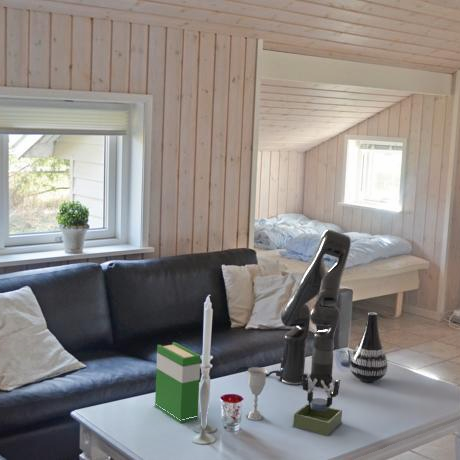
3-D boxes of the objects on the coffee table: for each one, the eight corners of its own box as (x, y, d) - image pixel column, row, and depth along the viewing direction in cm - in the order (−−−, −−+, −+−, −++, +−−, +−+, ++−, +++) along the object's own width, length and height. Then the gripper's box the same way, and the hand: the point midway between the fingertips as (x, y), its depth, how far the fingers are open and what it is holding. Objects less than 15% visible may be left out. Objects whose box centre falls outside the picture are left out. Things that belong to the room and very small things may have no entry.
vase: (389, 388, 325) (395, 319, 320) (350, 385, 325) (356, 317, 321) (383, 375, 341) (388, 309, 336) (346, 372, 341) (351, 307, 336)
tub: (293, 426, 281) (293, 414, 280) (307, 414, 293) (308, 402, 292) (327, 435, 275) (328, 422, 274) (341, 422, 287) (342, 410, 286)
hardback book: (155, 406, 293) (157, 344, 289) (171, 402, 297) (174, 342, 293) (180, 423, 279) (183, 358, 275) (197, 419, 283) (200, 355, 279)
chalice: (267, 415, 290) (269, 369, 287) (261, 422, 283) (264, 375, 280) (248, 412, 292) (251, 366, 289) (242, 418, 286) (244, 371, 283)
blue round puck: (307, 408, 281) (307, 402, 281) (314, 402, 287) (314, 396, 287) (324, 412, 279) (324, 406, 278) (330, 406, 284) (331, 400, 284)
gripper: (345, 361, 280) (341, 405, 283) (307, 353, 286) (305, 397, 289) (337, 366, 273) (334, 412, 276) (299, 359, 280) (296, 403, 283)
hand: (319, 404), depth 283 cm, fingers closed on blue round puck, 6 cm apart
